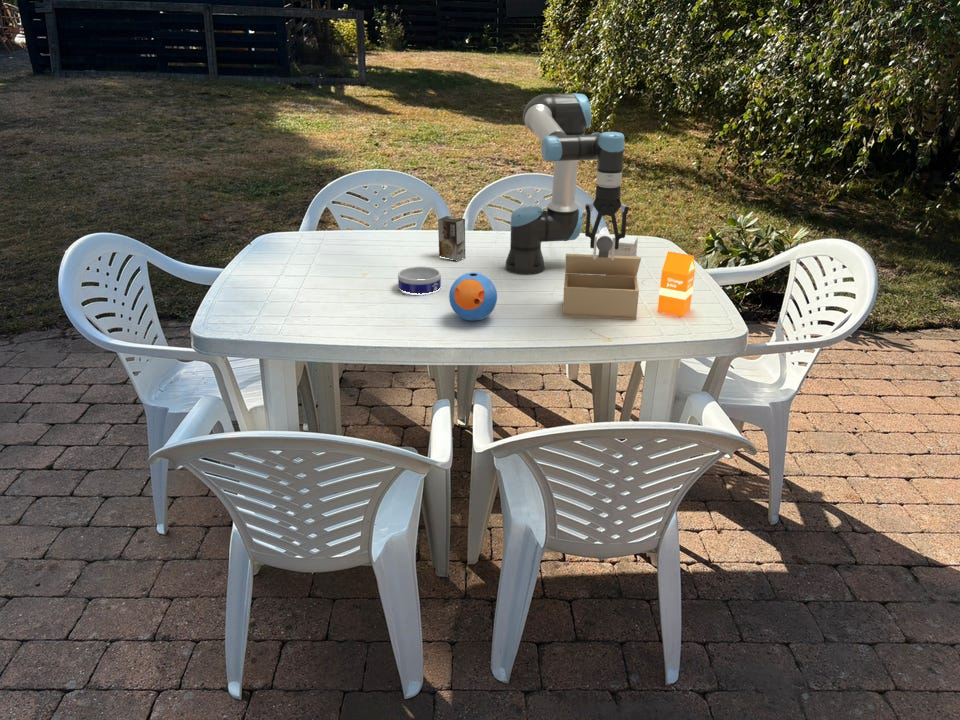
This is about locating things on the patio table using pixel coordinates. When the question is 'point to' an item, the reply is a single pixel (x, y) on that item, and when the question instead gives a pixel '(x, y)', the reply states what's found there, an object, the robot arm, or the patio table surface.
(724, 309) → the patio table surface
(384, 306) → the patio table surface
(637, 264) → the carton lid
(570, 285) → the carton
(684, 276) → the orange juice
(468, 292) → the treat dispenser ball
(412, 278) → the dog bowl
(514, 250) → the robot arm
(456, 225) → the coffee box
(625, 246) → the supplement box
